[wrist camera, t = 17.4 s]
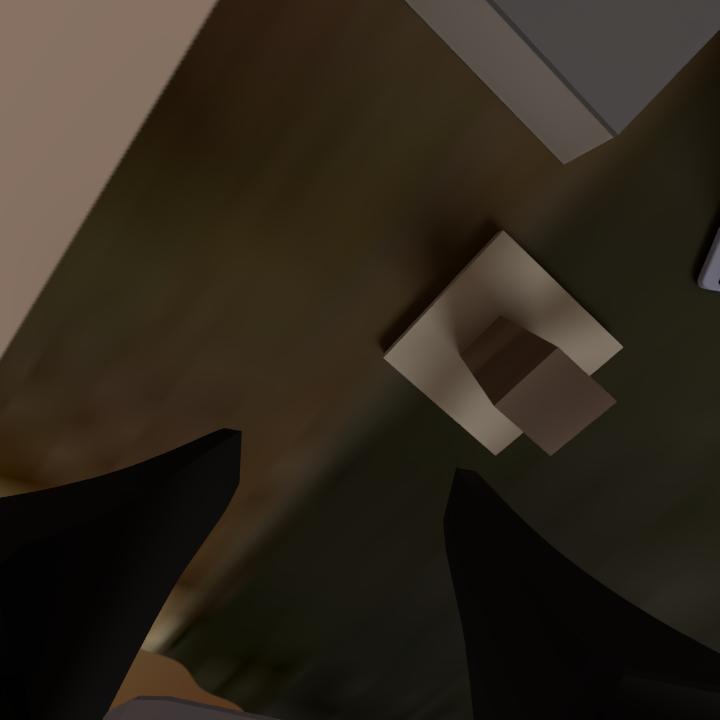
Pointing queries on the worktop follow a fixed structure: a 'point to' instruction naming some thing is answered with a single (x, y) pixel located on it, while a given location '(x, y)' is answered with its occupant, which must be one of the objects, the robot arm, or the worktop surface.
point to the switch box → (573, 58)
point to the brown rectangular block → (535, 384)
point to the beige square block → (474, 315)
